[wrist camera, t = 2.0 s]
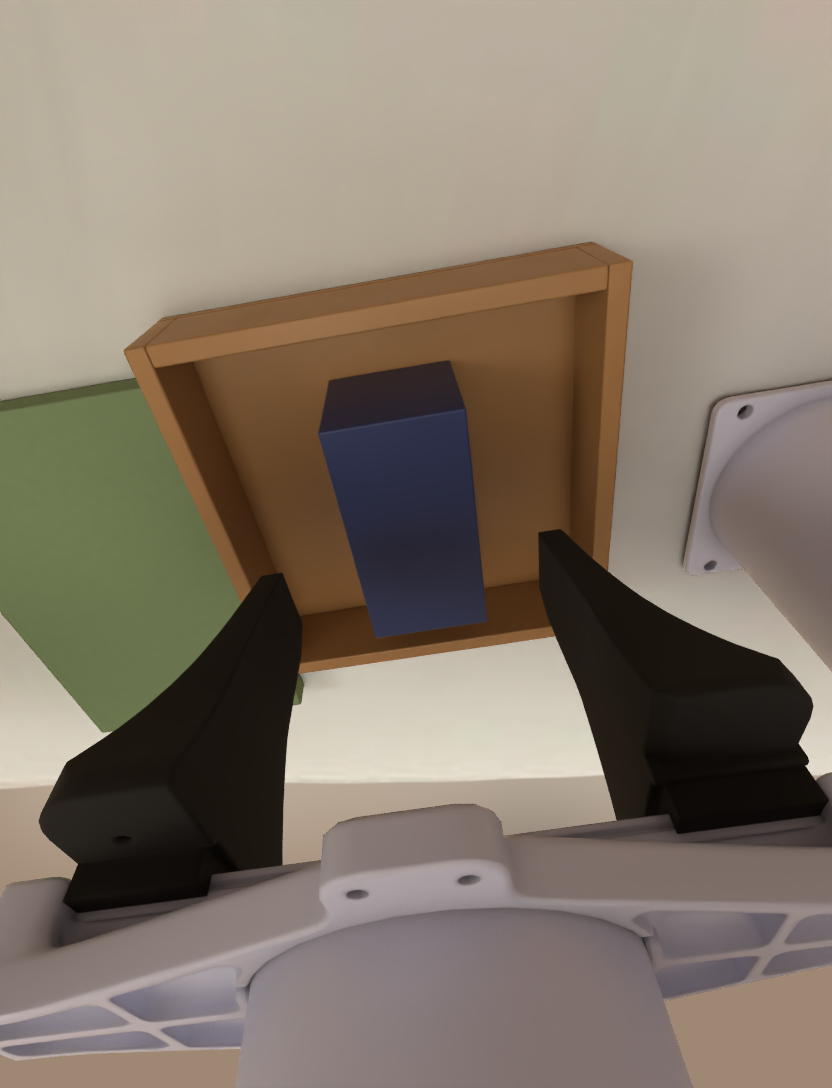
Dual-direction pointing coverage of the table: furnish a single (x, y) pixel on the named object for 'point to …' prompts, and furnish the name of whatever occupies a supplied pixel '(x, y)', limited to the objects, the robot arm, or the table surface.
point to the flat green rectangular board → (105, 549)
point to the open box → (386, 344)
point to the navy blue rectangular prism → (406, 496)
